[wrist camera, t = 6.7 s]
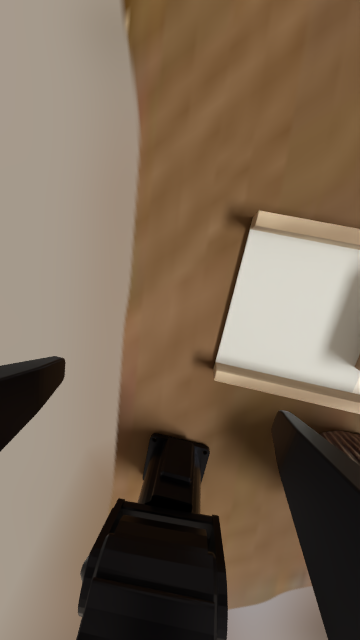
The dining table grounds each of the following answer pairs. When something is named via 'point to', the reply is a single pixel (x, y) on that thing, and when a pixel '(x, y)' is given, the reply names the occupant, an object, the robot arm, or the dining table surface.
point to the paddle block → (358, 363)
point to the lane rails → (280, 384)
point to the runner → (296, 312)
